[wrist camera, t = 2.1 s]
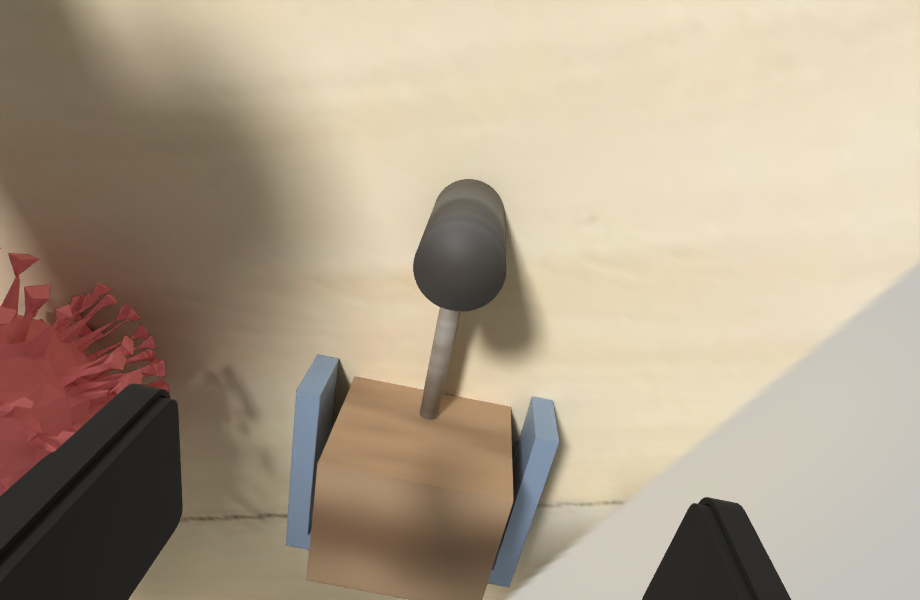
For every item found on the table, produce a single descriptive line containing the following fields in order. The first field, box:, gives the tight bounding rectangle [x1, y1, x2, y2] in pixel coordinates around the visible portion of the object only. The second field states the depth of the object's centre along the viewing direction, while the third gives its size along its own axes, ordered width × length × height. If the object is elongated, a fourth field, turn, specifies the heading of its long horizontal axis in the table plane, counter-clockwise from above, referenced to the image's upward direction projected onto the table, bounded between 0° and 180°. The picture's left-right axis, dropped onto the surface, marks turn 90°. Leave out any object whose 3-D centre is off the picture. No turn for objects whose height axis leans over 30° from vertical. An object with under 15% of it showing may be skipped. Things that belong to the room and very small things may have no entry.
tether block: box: [307, 179, 513, 600], centre depth 27 cm, size 20×9×7 cm, turn 169°
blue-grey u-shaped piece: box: [286, 355, 559, 587], centre depth 31 cm, size 11×13×4 cm
